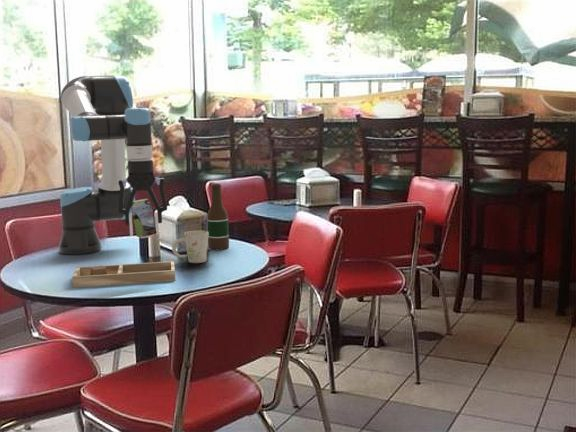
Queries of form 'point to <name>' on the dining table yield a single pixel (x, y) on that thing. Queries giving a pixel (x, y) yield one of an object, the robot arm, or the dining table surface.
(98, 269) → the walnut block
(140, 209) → the beverage can
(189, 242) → the mug
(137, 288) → the dining table surface
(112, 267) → the walled box
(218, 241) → the beer bottle
